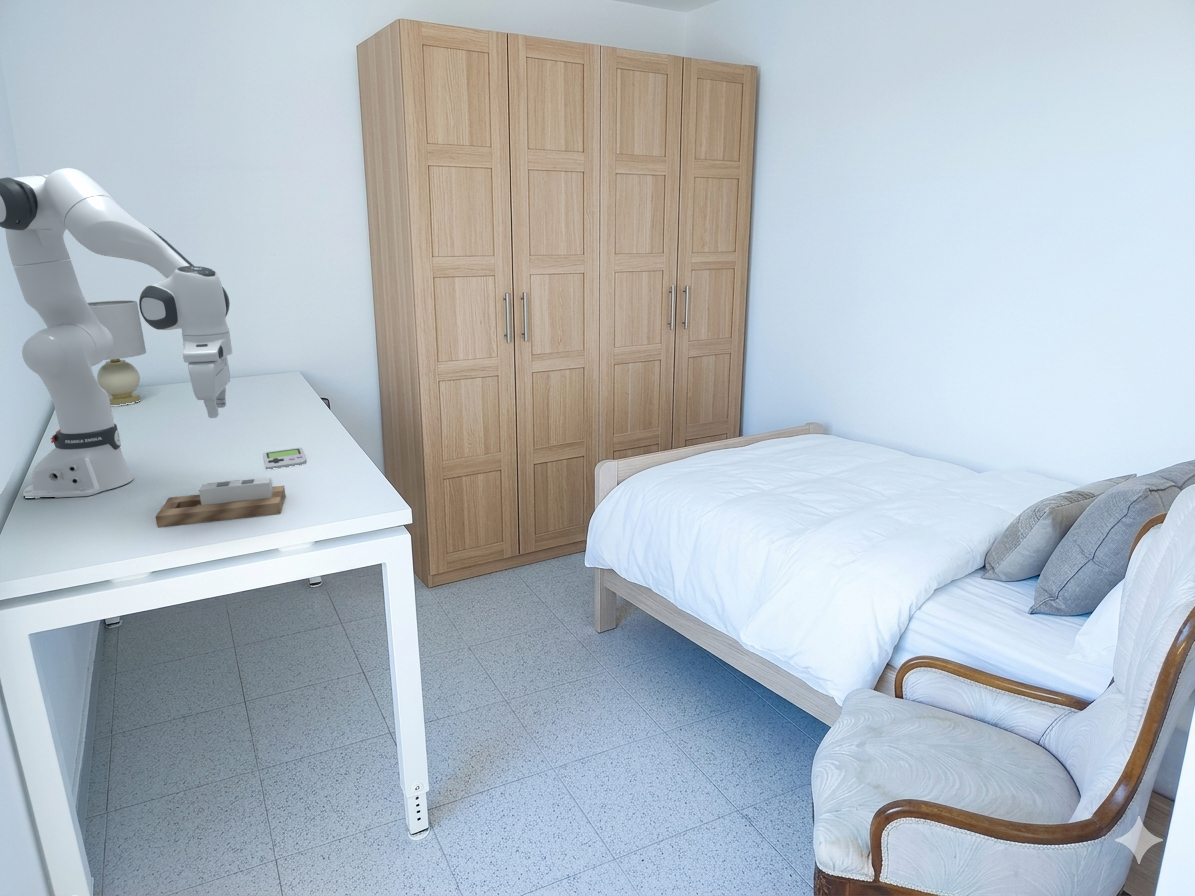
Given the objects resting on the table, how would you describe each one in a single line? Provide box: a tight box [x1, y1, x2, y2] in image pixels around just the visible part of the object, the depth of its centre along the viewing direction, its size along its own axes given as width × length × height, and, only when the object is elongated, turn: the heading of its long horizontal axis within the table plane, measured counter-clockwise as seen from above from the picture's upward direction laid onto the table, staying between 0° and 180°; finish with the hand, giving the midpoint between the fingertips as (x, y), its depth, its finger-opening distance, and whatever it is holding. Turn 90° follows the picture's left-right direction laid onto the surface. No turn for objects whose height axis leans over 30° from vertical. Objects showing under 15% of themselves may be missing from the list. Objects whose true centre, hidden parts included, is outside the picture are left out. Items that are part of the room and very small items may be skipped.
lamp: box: [87, 299, 147, 405], centre depth 277 cm, size 20×20×35 cm
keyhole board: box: [154, 485, 287, 528], centre depth 172 cm, size 24×12×2 cm, turn 106°
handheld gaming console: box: [262, 447, 307, 470], centre depth 209 cm, size 10×2×15 cm
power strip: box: [198, 476, 274, 505], centre depth 172 cm, size 14×4×6 cm, turn 106°
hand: (217, 412), depth 167 cm, fingers open, 8 cm apart
